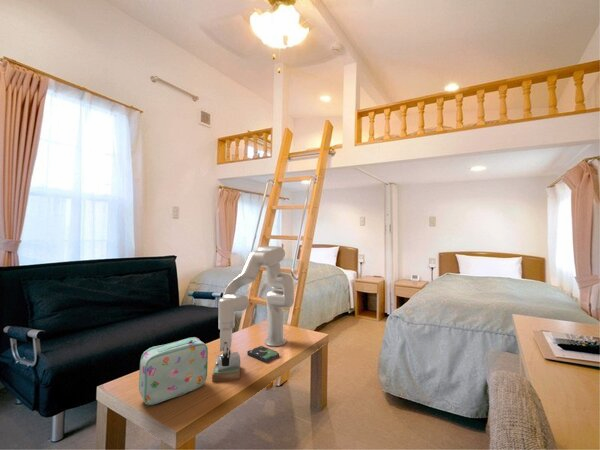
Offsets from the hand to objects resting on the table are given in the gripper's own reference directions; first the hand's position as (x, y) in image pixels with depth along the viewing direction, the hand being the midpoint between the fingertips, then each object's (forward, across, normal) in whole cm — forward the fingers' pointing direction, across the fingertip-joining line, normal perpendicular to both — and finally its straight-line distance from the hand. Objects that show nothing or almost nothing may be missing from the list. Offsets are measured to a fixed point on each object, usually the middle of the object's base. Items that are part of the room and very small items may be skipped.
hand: (226, 361), depth 136 cm
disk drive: (+6, -17, +18) cm, 26 cm away
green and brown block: (+6, 0, 0) cm, 6 cm away
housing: (+2, 0, +1) cm, 3 cm away
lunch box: (+6, +12, -20) cm, 24 cm away
